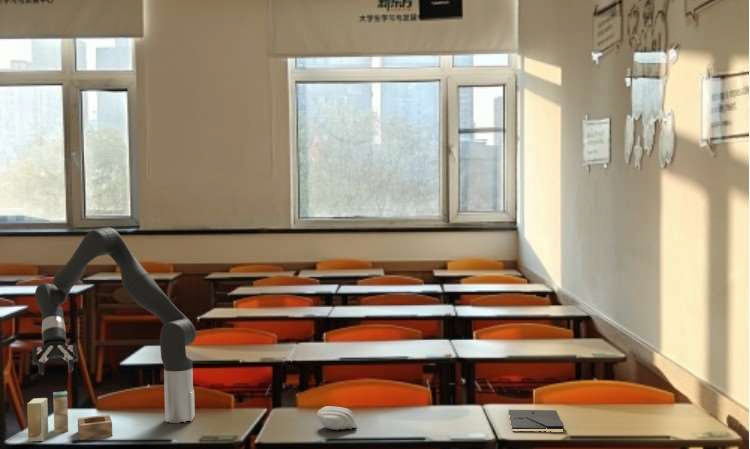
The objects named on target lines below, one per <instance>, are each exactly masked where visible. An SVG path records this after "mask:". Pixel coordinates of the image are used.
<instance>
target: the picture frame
mask: <svg viewBox="0 0 750 449" xmlns="http://www.w3.org/2000/svg"><path fill="white" fill-rule="evenodd" d="M509 415H510V418H509V421H510V420H511V423H510V426H511V425H512V428H511V430H512V429H546V428H547V429H563V430H564V431H565V425H564V422H563V421H562V420H561V418H560V415H559V414H558V411H557V409H556V410H555V409H554V410H553V409H508V416H509Z"/></svg>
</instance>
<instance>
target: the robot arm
mask: <svg viewBox="0 0 750 449" xmlns="http://www.w3.org/2000/svg"><path fill="white" fill-rule="evenodd" d="M106 255H108V256H110V257H111V259H113V261H114V262H115V263H116V265H117V267H118V268H119V271H120V277H121V278H120V279H121V283H122V286H123V289H124V290H125V291H126V292H127V294H128V295H129V297H130V298H131V299H132V300H133V301H134V302H135V303H136V304H138V306H140V307H141V308H143V309H144V310H146V311H147V312H148V313H149V312H150V313H151V314H152V315H154V316H155V317H157V318H158V319H159V320H160V321H161V322H162V324H163V326H162V327H161V330H160V334H159V345H160V346H159V347H160V348H159V349H160V357H161V358H160V359H161V361H162V364H163V378H164V380H163V381H164V382H163V384H164V387H163V388H164V420H165V423H168V422H169V423H168V424H181V423H180V422H184V423H187V422H186V421H190V422H193V421H192V420H194V419H195V417H196V414H195V412H196V411H195V410H196V408H195V406H196V405H195V389H194V385H193V383H194V380H193V379H194V378H193V377H194V376H193V374H194V372H193V359H191V358H190V357H188V356H187V349H186V347H187V346H189V345H191V344H193V343H195V340H196V338H197V329H196V327H195V325H194V324H193V322H192V321H191V320H190V319H189V318H188V317H187V316H186V315H185V314H184V313H183V312H181V311H180V310H179V309H178V307H177V306H175V304H174V303H173V302H172V300H171V299H170V298H169V297H168V296H167V295H166V294H165V292H164V291H163V290H162V288H160V286H159V285H158V283H157V282H156V281H155V279H153V277H152V276H151V275H150V274H149V272H148V271H147V270H145V268H144V267H143V266H142V264H141V263H140V262H139V260H138V259H137V258H136V257H135V255H134V254H133V252H132V251H131V250H130V248H129V246H128V245H127V244H126V242H125V241H124V239H123V237H122V235H120V234H119V232H118V231H117V230H116V229H114V228H112V227H102V228H95V229H92V230H90V231H88V232H87V233H86V235H85V236H84V237H83V239H82V240H81V242H80V243H79V245H78V247H77V248H76V250H75V252H74V253H73V254H72V256H71V258H70V259H69V260H68V261H67V262H66V263H65V265H64V266H62V268H60V270H58V272H57V273H55V275H54V277H53V279H52V283H48V282H42V283H40V284H38V285H37V286H36V288H35V293H34V294H35V295H34V297H35V301H36V304H37V307H38V309H39V310H40V313H41V321H42V322H41V340H42V346H40V347H37V345H34V346H33V347H32V365H34V366H35V365H37V366H38V373H39V374H40V375H41V376H44V375H45V369H44V368H45V366H44V365H45V363H46V362H47V361H48V360H49V359H50V360H54V359H58V360H59V359H63V360H64V361H66V362H67V367H68V368H67V369H68V373H69V374H71V373H72V372H73V371H74V363H77V362H78V361H79V353H78V352H79V351H78V346H77V343H76V342H74V343H72V344H67V335H66V324H65V319H64V309H63V307H62V306H61V305H63V304H65V302H66V300H67V298H68V295H69V294H70V292H71V290H72V288H73V287H74V286H75V285H76V284H77V283H78V282H79V281H80V279H81V278H82V277H83V276H84V273H85V271H86V268H87V267H86V266H88V264H90V262H91V261H93V260H94V259H95V258H98V257H101V256H106ZM68 351H70V352H72V355H73V356H72V355H70V353H69V352H68ZM40 353H43V354H42V356H41V357H40V358H39V359H38V358H37V357H38V354H40ZM194 416H195V417H194ZM193 418H194V419H193Z"/></svg>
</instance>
